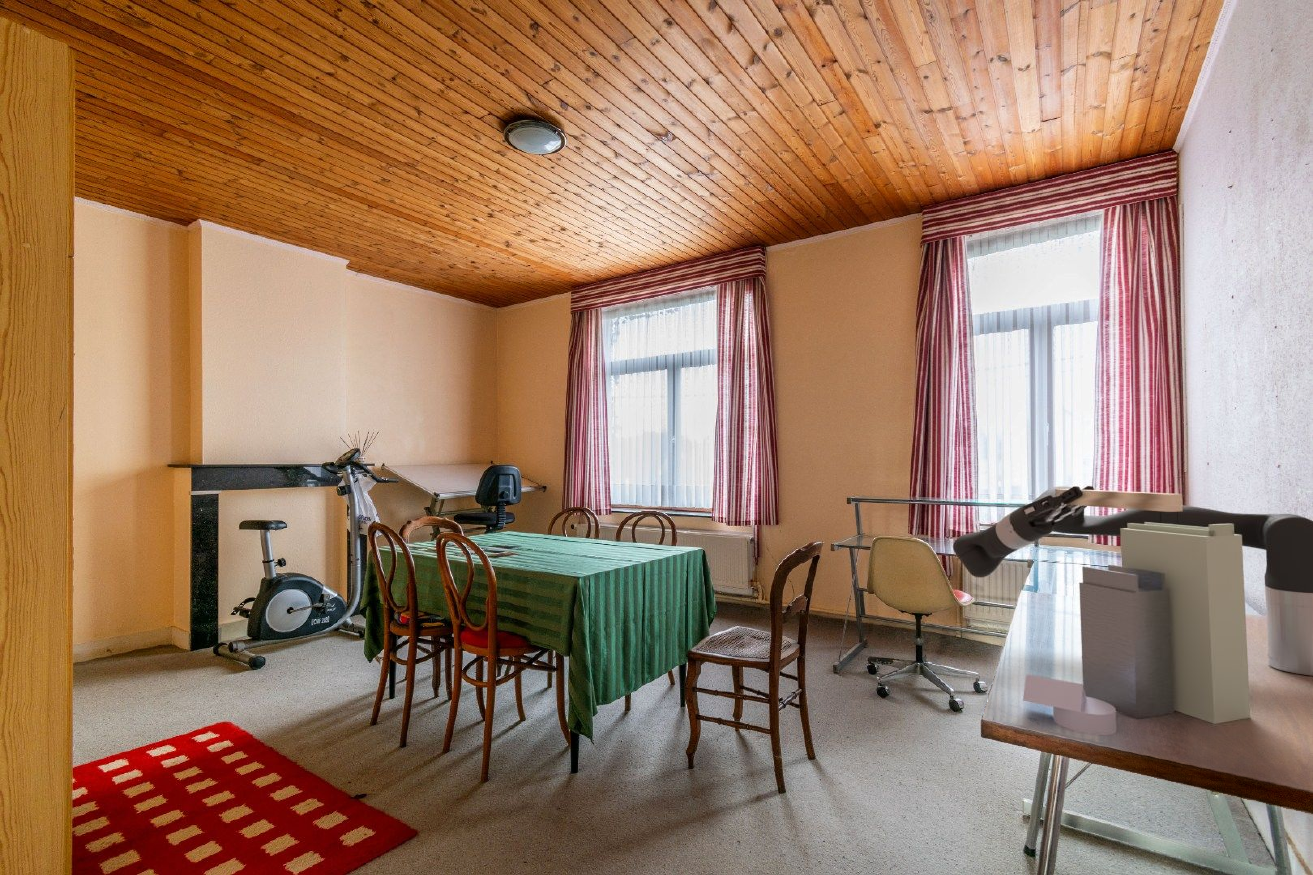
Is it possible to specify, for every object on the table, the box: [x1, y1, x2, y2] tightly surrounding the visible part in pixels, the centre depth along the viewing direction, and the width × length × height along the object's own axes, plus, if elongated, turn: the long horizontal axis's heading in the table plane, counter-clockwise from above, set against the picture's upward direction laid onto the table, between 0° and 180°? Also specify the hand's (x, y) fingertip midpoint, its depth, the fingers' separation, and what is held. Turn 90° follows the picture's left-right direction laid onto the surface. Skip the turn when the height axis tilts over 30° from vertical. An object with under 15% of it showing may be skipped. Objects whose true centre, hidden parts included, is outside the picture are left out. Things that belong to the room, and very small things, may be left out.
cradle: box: [1078, 564, 1175, 720], centre depth 117 cm, size 10×9×25 cm
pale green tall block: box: [1120, 522, 1251, 725], centre depth 117 cm, size 15×9×34 cm, turn 17°
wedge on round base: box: [1022, 674, 1117, 736], centre depth 110 cm, size 9×7×13 cm
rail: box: [1055, 488, 1183, 512], centre depth 119 cm, size 22×3×3 cm, turn 16°
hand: (1086, 490), depth 124 cm, fingers closed on rail, 3 cm apart
